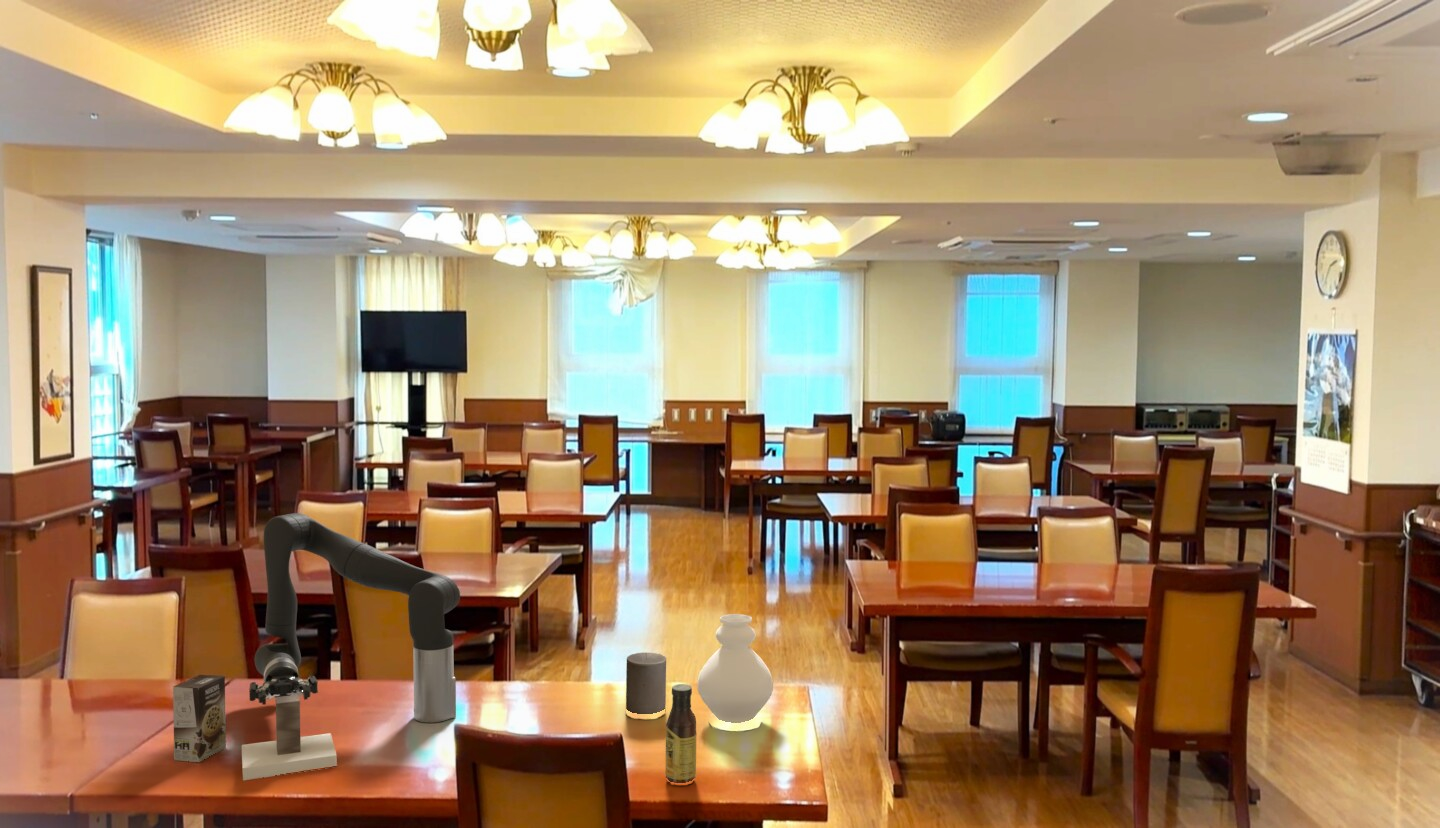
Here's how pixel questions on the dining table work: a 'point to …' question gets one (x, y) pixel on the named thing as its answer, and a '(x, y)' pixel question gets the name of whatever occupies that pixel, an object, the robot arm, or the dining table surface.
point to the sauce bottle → (681, 737)
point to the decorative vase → (735, 673)
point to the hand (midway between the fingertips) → (285, 697)
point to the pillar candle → (646, 683)
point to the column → (288, 724)
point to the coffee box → (199, 718)
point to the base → (287, 757)
